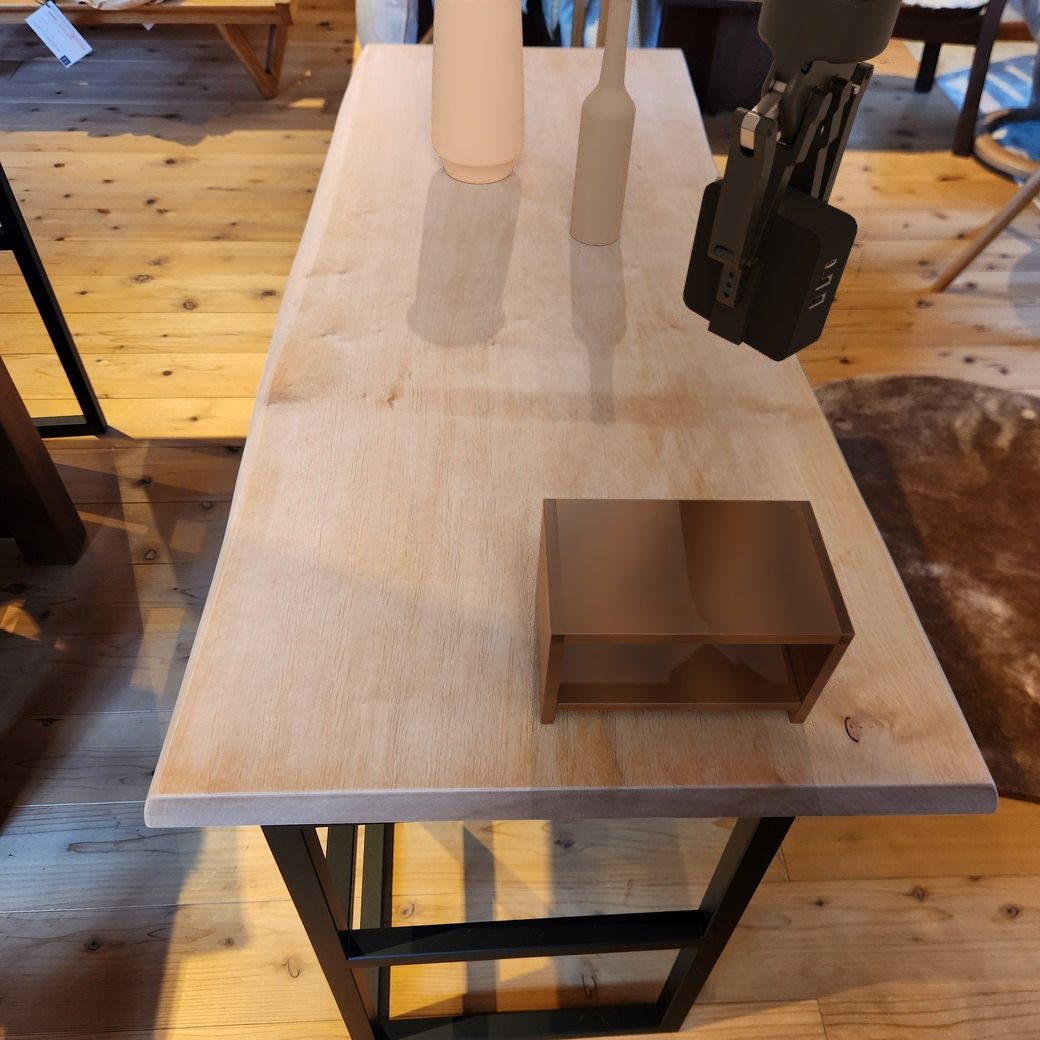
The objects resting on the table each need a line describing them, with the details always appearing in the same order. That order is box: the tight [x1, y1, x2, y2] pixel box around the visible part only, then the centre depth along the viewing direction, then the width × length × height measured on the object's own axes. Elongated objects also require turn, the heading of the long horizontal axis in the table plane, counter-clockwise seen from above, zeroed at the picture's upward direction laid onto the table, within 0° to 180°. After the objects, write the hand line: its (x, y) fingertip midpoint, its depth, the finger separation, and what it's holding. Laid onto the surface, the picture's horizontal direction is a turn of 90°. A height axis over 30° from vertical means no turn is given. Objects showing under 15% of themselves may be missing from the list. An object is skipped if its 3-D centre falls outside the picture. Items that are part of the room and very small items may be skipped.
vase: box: [430, 0, 526, 185], centre depth 112 cm, size 13×13×28 cm
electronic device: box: [682, 175, 859, 363], centre depth 61 cm, size 4×10×10 cm, turn 40°
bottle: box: [569, 0, 637, 246], centre depth 101 cm, size 7×7×28 cm
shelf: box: [535, 497, 856, 725], centre depth 63 cm, size 20×12×12 cm, turn 91°
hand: (745, 320), depth 64 cm, fingers closed on electronic device, 5 cm apart
